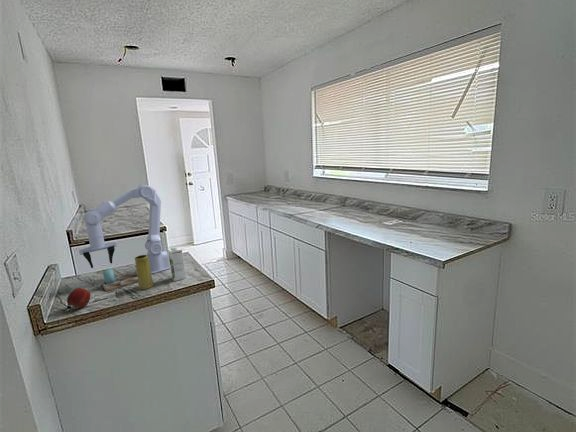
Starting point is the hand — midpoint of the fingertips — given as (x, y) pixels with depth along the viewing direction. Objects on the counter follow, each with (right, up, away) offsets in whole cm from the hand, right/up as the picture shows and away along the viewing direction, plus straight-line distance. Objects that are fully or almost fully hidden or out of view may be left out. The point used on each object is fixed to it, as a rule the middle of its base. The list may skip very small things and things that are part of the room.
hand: (101, 265), depth 140 cm
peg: (+5, -9, -1) cm, 10 cm away
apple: (+4, -14, -19) cm, 24 cm away
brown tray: (+8, -9, +2) cm, 12 cm away
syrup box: (+35, -7, +3) cm, 36 cm away
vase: (+23, -9, -4) cm, 25 cm away
